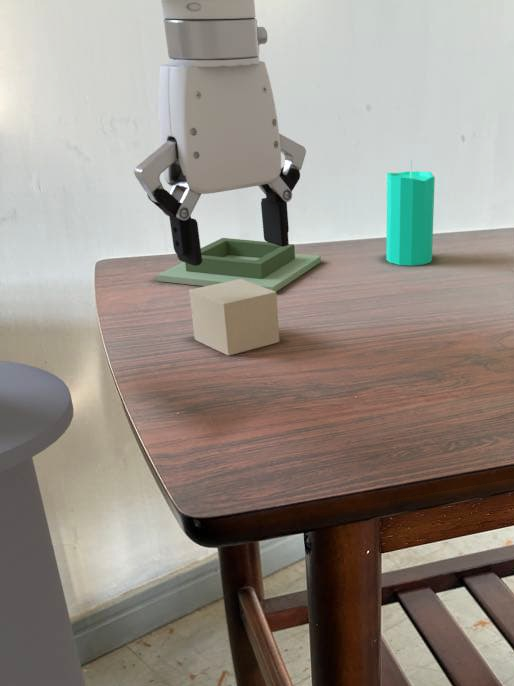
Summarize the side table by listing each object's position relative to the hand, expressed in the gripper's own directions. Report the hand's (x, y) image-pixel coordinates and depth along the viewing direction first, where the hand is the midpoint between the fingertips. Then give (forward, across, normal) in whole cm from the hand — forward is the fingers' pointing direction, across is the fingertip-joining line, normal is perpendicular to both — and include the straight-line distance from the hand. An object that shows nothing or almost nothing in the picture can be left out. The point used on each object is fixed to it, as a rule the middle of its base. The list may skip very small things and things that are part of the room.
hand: (234, 252), depth 82 cm
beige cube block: (+8, +1, 0) cm, 9 cm away
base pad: (+9, -14, -21) cm, 27 cm away
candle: (+9, -34, -12) cm, 38 cm away
